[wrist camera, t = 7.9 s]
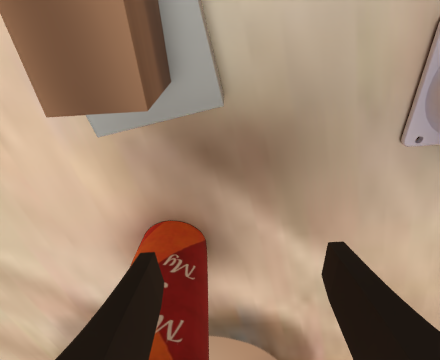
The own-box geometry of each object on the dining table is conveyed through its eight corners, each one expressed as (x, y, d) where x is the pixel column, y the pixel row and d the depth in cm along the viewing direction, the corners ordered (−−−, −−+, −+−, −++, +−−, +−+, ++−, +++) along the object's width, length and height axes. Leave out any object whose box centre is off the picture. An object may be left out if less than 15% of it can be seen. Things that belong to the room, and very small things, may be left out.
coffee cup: (188, 196, 21) (141, 459, 9) (233, 255, 25) (246, 496, 13) (111, 231, 24) (-15, 482, 11) (163, 281, 27) (115, 508, 15)
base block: (186, -65, 13) (177, -83, 11) (223, 92, 17) (223, 105, 15) (47, -16, 14) (10, -22, 12) (114, 120, 18) (97, 137, 16)
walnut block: (156, -9, 12) (118, -22, 8) (171, 81, 14) (147, 111, 10) (72, -3, 12) (-11, -11, 8) (99, 86, 14) (46, 117, 10)
